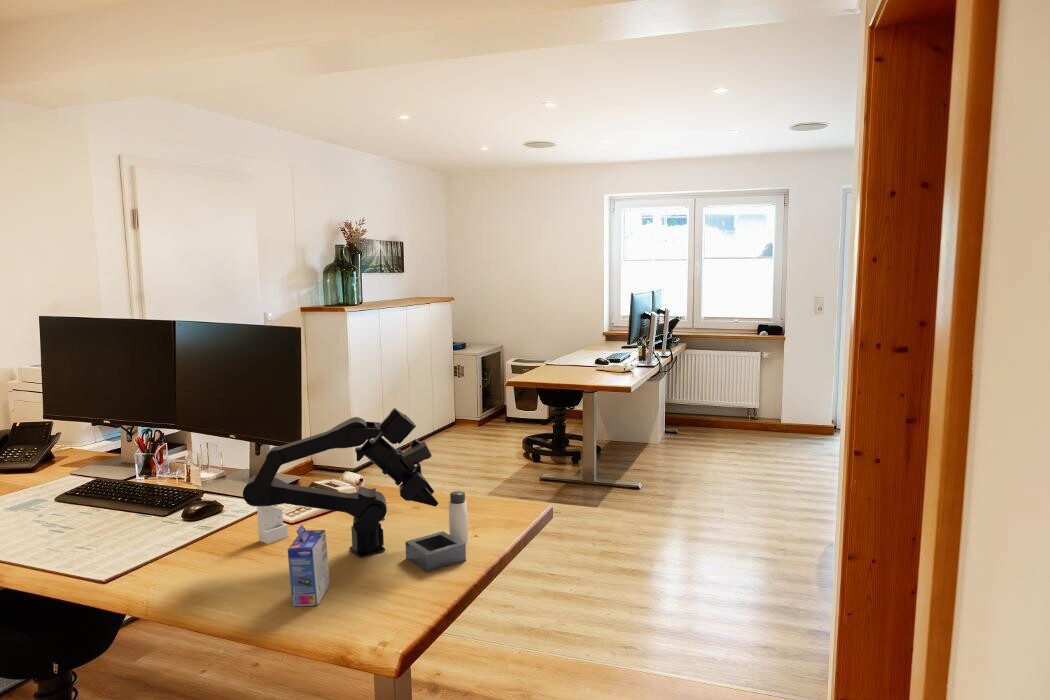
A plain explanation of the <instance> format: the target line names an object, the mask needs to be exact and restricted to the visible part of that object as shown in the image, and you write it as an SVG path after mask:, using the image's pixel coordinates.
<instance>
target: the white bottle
mask: <svg viewBox="0 0 1050 700" xmlns="http://www.w3.org/2000/svg"><path fill="white" fill-rule="evenodd" d="M448 525H449V526H448V527H449V528H448V529H449V533H448V534H449V535H451V536H452V537H454V538H456V539H458V540H460V541H461V542H463V543H465V544H466V543H468V501H467V500H466V493H465V492H464V491H460V490H457V491H451V492H450V494H449V501H448Z"/></svg>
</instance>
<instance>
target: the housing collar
mask: <svg viewBox="0 0 1050 700" xmlns="http://www.w3.org/2000/svg"><path fill="white" fill-rule="evenodd" d="M466 551H467V549H466V543H463V542H461V541H460V540H458V539H456V538H454V537H452V536H451V535H450V533H447V532H446V531H444V530H442V531H438V532H435V533H432V534H427V535H425V536H420V537H417V538H414V539H410V540H407V541H405V558H406V559H407V560H408V561H409V562H411V563H413V564H414V565H415V566H417V567H419V568H420V569H422V570H423V571H425V573H431V572H434V571H437V570H441V569H444V568H447V567H451V566H453V565H456V564H460V563H462V562H466V561H467V553H466Z"/></svg>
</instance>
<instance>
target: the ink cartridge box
mask: <svg viewBox="0 0 1050 700" xmlns="http://www.w3.org/2000/svg"><path fill="white" fill-rule="evenodd" d="M326 532H327V531H326V530H325V529H311V530H310V529H309V530H307V529H306V528H305V527H304V525H303V524H301V525H300V526H299V527H298V528H297V530H296V534H297V536H296V538H295V539H294V540H293V542H292V543H291V544H290V545H289V547H288V548H287V557H288V558H287V559H288V560H287V562H288V571H289V581H290V582H289V583H290V592H291V601H292V606H293V607H316V606H318V605H319V604H320V602H321V600H322V599H323V596H324V595H325V593H326V591H327V589H328V587H329V586H330V573H329V572H330V571H329V562H328V560H329V557H328V547H327V546H328V545H327V534H326Z"/></svg>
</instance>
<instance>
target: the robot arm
mask: <svg viewBox="0 0 1050 700" xmlns="http://www.w3.org/2000/svg"><path fill="white" fill-rule="evenodd" d="M416 427H417V424H415V422H414V421H412V419H411V418H410V417H409V416H408V415H406V414H404V413H403V412H402V411H400V410H398V409H397V408H396V407H393V408H392V409H391V411H390V412H389V414H388V415H387V416H386V417H385V418H384V419H383V420H382V421H381V422H379V421H378V422H376V421H366V420H365V419H363V418H361V417H359V416H355V417H354V416H353V417H351V418H349V419H346V420H345V421H343V422H341V423H339V424H337V425H336V426H334V427H332V428H331V429H329V430H327V431H324V432H321V433H318V434H315V435H311V436H308V437H305V438H302V439H299V440H295V441H292V442H289V443H286V444H283V445H279V446H274V447H271V448H270V450H269V451H268V452H267V454H266V456H265V459H264V462H263V464H262V465H261V467H260V468H259V471H258V473H256V474H254V475H253V476H251V477H250V478H249V480H248V481H247V483H246V484H245V486H244V488H243V490H242V498H243V500H244V502H245V503H246V504H247V505H248V506H251V507H257V506H273V507H274V506H277V505H293V506H298V507H307V508H312V509H320V510H327V511H333V512H339V513H340V512H341V513H345V514H348V515H349V516H352V517H353V518H352V520H353V521H352V525H351V546H350V547H349V549H348V550H350V551H351V553H354V554H355V555H356V556H358V557H359V558H364V557H368V556H370V555H375V554H377V553H381V552H385V551H386V548H385V547H384V544H385V542H384V529H383V528H382V523H380V522H381V521H382V519H383V518H384V517H385V518H386V515H387V510H388V509H387V500H386V497H385V495H384V494H383V493H382V492H380V491H378V490H377V488H376V487H375V488H367V487H364V486H358V491H356V492H350V493H349V492H342V491H335V490H330V489H329V490H328V489H323V488H316V487H309V486H303V485H296V484H290V483H287V482H285V481H284V480H281V479H279V478H278V477H276V475H277V473H278V471H279V470H280V468H281V466H282V465H284V464H288V463H291V462H294V461H295V462H296V461H298V460H301V459H304V458H308V457H310V456H313V455H316V454H317V455H318V454H320V453H323V452H325V451H329V450H334V449H349V448H355V450H354V451H355V454H356V458H355V459H356V461H357V462H360V461H361V460H362V459H363V458H364V457H366V458H367V459H368V460H369V461H370V462H372V463H373V464H374V465H375V466H377V468H379V469H380V470H381V473H382V474H383V475H385V476H386V475H387V476H388V477H390V479H392V480H393V481H394V484H395V485H396V486H397V487H398V488H399V489H398V491H399V492H398V493H399V496H400V497H401V498H402V499H403V500H404V501H406V502H415V503H419V504H424V505H426V506H427V505H428V506H430V507H431V506H432V507H437V506H438V505H439V502H438V501H437V498H435V497H434V496H433V494H434V493H435V491H434V489H433V487H432V486H431V485H430V483H429V482H428V481H427V479H426V478H425V477H424V475H423V474H422V466H421V462H423V461H425V460H428V459H431V457H432V452H431V451H430V449H429V447H428V445H427V443H426V441H424V440H422V441H419V440H418V439H417V438H416V439H413V440H411V441H410V447H409V448H407V450H405V451H403V450H402V449H396V448H395V447H394V446H392V445H397V444H402V442H403V441H404V440H405V439H407V437H408V436H409V435H410V434H411V433H412V432H413V431H414V430H415V428H416ZM386 440H387V441H386ZM391 444H392V445H391Z"/></svg>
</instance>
